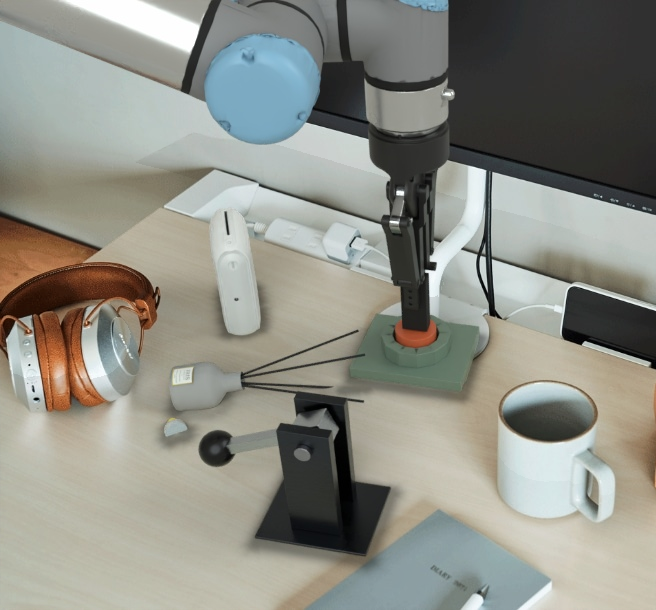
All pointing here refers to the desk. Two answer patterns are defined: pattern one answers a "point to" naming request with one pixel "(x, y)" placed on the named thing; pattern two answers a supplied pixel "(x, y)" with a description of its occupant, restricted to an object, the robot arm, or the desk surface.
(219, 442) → the tap lever
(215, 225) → the photo printer
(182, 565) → the desk surface
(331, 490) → the bracket
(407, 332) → the button
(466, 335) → the button block
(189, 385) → the reed diffuser
